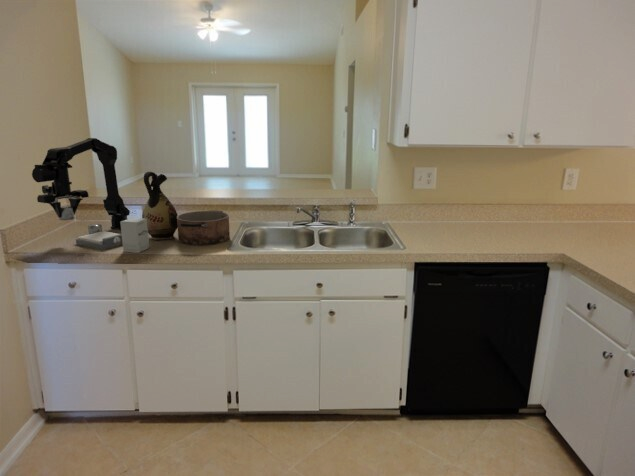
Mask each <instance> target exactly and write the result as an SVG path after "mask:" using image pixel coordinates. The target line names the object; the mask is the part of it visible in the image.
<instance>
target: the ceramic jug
mask: <svg viewBox="0 0 635 476" xmlns="http://www.w3.org/2000/svg"><path fill="white" fill-rule="evenodd" d="M150 178H151V182H150ZM167 180H168V177H167V176H166V175H165V174H164V173H160V174H156V173H155V172H153V171H147V172H145V173H144V175H143V183H144V185H145V188H146V191H147V193H148V197H149V198H148V199H147V201H146V203H145V205H144V208H143V210H142V213H141V214H142V215H141V218H143V219H147V227H148V235H149V236H150V237H151V238H152V240H154V241H157V240H158V241H159V240H169V239H173V238H175V233H176V231H177V230H178V226H177V216H178V215H179V214H178V212H177V209H176V208H175V206H174V205H173V203H172V202H171V201H170V199H169V198H168V197H167V196H166V195H165V194H164V193H163V191H162V189H161V185H162V184H163V183H164V182H166V181H167Z"/></svg>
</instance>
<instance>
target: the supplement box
mask: <svg viewBox="0 0 635 476" xmlns="http://www.w3.org/2000/svg"><path fill="white" fill-rule="evenodd" d="M120 224H121V229H120V231H121V233H120V234H122V243H123V245H122V251H123V252H125V253H135V254H137V253H138V254H140V253H141V252H143V251H145V250H148V249H150V242H149V241H150V240H149V233H148V227H147V219H143V218H142V217H139V218H138V217H130V218H127V220H124V221H121V222H120Z"/></svg>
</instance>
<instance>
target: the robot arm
mask: <svg viewBox="0 0 635 476" xmlns="http://www.w3.org/2000/svg"><path fill="white" fill-rule="evenodd" d="M89 150H91V151H92V152H93V153H94V154H96V156H97V159H98V160H99V163H101V165H102V169H103V175H104V181H105V183H104V184H105V189H106V198H105V199H103V200H102V202H103V208H104V209H105V211H106V212H107V215H108V216H111V219H110V220H111V226H110V228H111V229H115V230H121V224H120V222H121V221H124V220H127V219H128V216H130V214H131V211H130V209H128V207H126V205H125V203H124V199H123V198H122V197H121V195H120V193H119V192H120V191H119V186H118V181H117V180H118V179H117V172H116V167H115V165H116V162H117V159H118V151H117V148H116V147H115V146H114V145H110V144H108V143H107V142H104V141H101V140H99V139H98V138H96V137H95V138H94V137H87V138H86V139H84V140H81V141H78V142H75V143H73V144H71V145H68V146H62V147H55V148H49V149H48V150H47V153H46V155H45V158H44V160H43V161H42V163H41V164H34V168H33V169H32V173H31V176H32V179H33V181H35V182H36V183H45V182H51V181H52V182H51V186H49V185H48V184H46V185H45V184H44V185H42V186H41V191H42V194H38V195H37V197H36V201H37V203H43V204H49V205H50V206H51V207H52V209H53V210H54V212H55V214H56V216H57V217H58V218H61V207H62V206H61V205H62V203H61V202H60V201H59V200H63V199H68V202H69V203H70V205H69V206H73V211H74V216H75V214H76V212H77V209H78V207H79V205H80V203H81V201H83V199H84V198H89V197H90V196H89V192H88V191H87V190H86V189H85V190H84V189H75V190H72V188H71V185H73V183H72V181H70V176H69V174H70V173H69V170H68V169H71V168H73V165H71V164H69V162H70V161H71V160H73V158H74V157H75V156H77V155H79V154H82V153H84V152H87V151H89Z"/></svg>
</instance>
